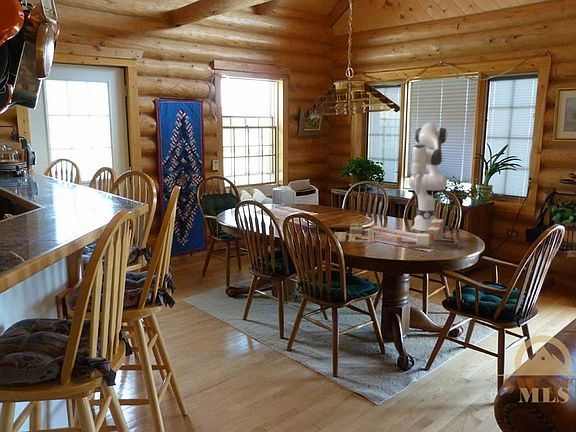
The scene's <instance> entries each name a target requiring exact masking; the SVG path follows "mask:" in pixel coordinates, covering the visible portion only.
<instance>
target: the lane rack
mask: <svg viewBox="0 0 576 432" xmlns="http://www.w3.org/2000/svg"><path fill="white" fill-rule="evenodd" d="M407 246H408V249H420V248H421V249H423V250H424V249H425V250H447V251H449V250H450V251H458V250H459V240H458V238H457V237H454V238H453V239H433V243H429V246H423V245H417V244H410V243H407Z"/></svg>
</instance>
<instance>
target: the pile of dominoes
mask: <svg viewBox="0 0 576 432" xmlns="http://www.w3.org/2000/svg"><path fill="white" fill-rule="evenodd" d="M363 225H364V224H363V223H351V224H350V227H349V236H348V242H349V243H370V244H373V243H375V231H374V230H367V239H356V237H362V234H363ZM351 226H358V227H351ZM334 234H335V235H336V236H337V238H338V240H339V241H338V242H346V240H347V234H348V231H347V232H335V231H334Z"/></svg>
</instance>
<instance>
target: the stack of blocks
mask: <svg viewBox="0 0 576 432" xmlns="http://www.w3.org/2000/svg"><path fill="white" fill-rule="evenodd" d="M427 234H429V243H433V239H441V240H443V238H444V219H440V218H439V219H438V218H437V219H433V220H432V221H431V227H430V228H429V229H428V231H427Z"/></svg>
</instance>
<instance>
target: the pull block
mask: <svg viewBox="0 0 576 432" xmlns="http://www.w3.org/2000/svg"><path fill="white" fill-rule="evenodd" d="M408 243H410V244H417V245H423V246H429V234H428V233H416V239H415V241H409V240H408V241H406V240H405V241H403V236H396V244H398V245H400V244H401V245H402V244H408Z"/></svg>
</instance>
